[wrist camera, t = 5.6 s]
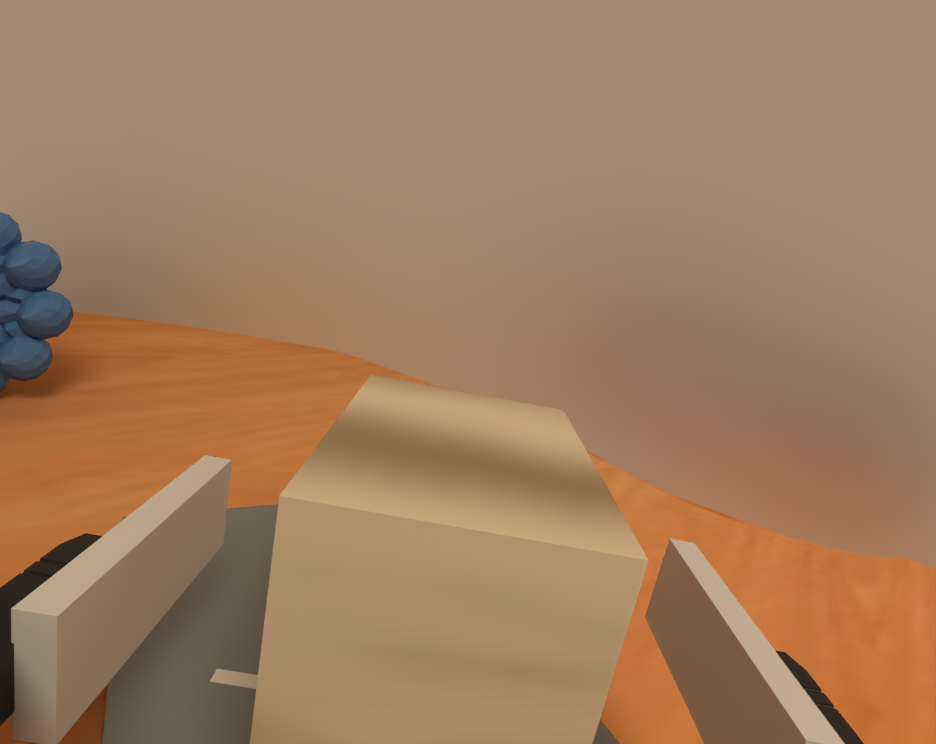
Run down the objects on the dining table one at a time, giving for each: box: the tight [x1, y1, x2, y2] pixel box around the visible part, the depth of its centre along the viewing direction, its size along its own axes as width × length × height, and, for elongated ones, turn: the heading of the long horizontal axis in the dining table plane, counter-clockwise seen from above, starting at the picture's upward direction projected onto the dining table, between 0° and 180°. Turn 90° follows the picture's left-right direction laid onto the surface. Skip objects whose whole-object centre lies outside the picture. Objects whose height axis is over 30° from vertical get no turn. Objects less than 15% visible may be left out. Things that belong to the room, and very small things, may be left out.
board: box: [102, 504, 619, 744], centre depth 18 cm, size 22×14×1 cm, turn 29°
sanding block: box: [250, 375, 649, 744], centre depth 13 cm, size 8×6×10 cm
